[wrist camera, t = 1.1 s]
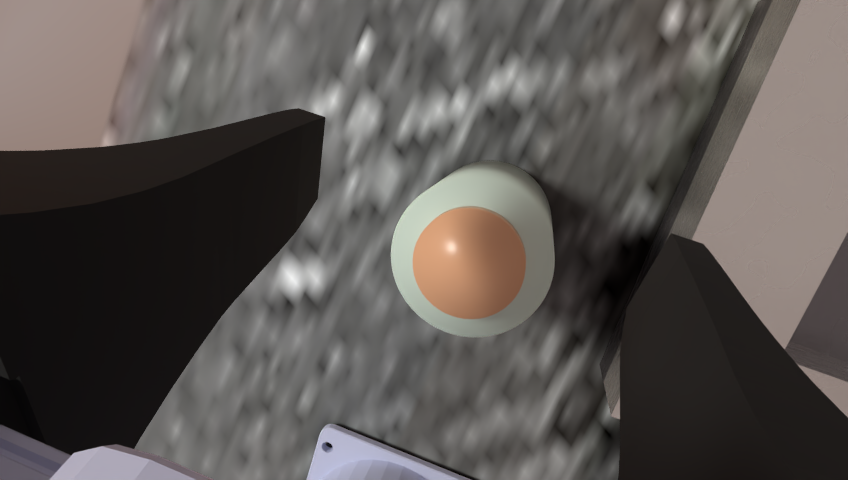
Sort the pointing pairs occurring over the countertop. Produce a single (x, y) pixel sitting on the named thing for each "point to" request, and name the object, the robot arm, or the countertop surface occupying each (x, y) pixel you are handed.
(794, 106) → the beige square slab
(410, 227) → the cylinder with orange cap
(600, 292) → the countertop surface
